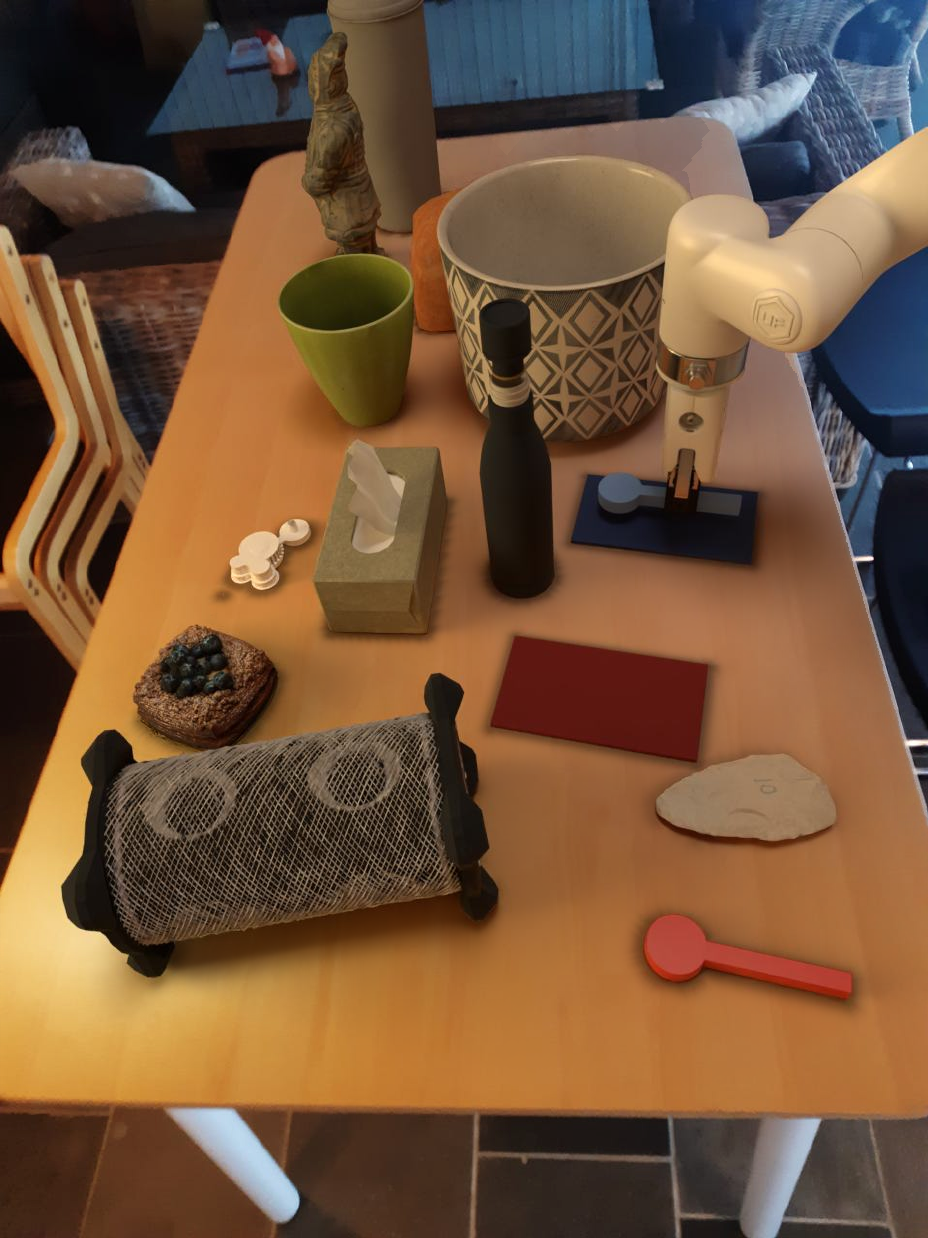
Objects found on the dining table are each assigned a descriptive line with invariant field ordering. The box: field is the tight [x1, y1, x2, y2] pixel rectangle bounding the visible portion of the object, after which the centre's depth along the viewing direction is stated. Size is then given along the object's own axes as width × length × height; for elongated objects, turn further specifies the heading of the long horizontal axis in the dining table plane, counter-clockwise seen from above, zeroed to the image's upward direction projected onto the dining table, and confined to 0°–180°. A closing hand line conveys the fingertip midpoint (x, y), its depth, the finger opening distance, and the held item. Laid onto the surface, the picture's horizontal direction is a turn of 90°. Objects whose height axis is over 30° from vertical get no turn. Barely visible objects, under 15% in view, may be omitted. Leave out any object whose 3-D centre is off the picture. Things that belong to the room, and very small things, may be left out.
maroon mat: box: [489, 635, 709, 763], centre depth 79 cm, size 18×10×1 cm, turn 75°
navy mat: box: [570, 473, 759, 566], centre depth 92 cm, size 18×10×1 cm, turn 75°
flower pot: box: [277, 254, 415, 428], centre depth 102 cm, size 15×15×16 cm
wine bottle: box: [478, 298, 555, 599], centre depth 77 cm, size 6×6×30 cm
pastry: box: [132, 623, 280, 752], centre depth 81 cm, size 11×12×6 cm
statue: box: [301, 32, 387, 257], centre depth 116 cm, size 11×9×30 cm
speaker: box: [60, 672, 500, 979], centre depth 66 cm, size 15×28×15 cm, turn 98°
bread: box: [409, 186, 466, 333], centre depth 113 cm, size 14×33×16 cm, turn 94°
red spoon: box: [644, 913, 853, 1000], centre depth 63 cm, size 14×4×2 cm, turn 75°
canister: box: [326, 0, 443, 233], centre depth 122 cm, size 13×13×35 cm
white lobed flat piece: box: [216, 518, 312, 596], centre depth 93 cm, size 9×9×2 cm
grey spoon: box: [598, 472, 742, 516], centre depth 90 cm, size 14×4×2 cm, turn 75°
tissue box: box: [311, 438, 448, 635], centre depth 86 cm, size 19×10×16 cm, turn 174°
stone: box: [655, 752, 837, 842], centre depth 71 cm, size 8×14×2 cm, turn 95°
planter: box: [437, 154, 694, 443], centre depth 97 cm, size 26×26×22 cm
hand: (681, 502), depth 90 cm, fingers closed on grey spoon, 1 cm apart
